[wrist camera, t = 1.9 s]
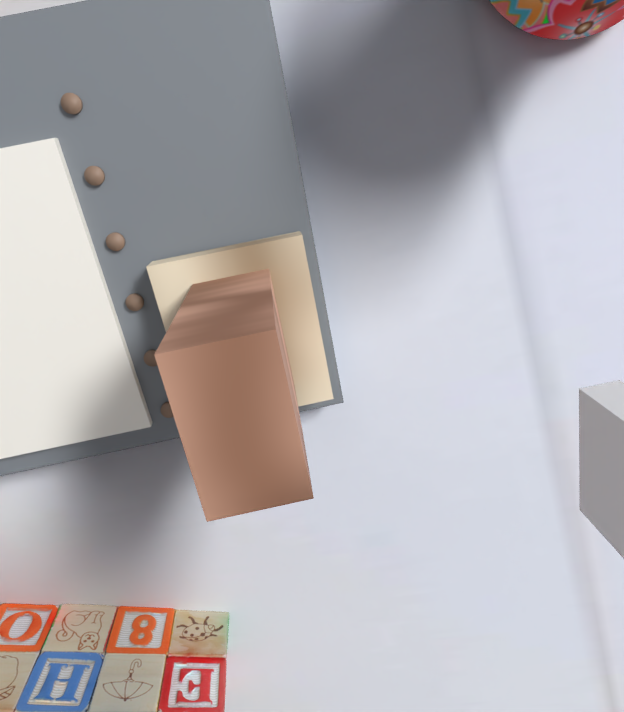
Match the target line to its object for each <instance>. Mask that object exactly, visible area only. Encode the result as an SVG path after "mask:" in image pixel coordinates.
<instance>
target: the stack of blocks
mask: <svg viewBox="0 0 624 712" xmlns="http://www.w3.org/2000/svg"><path fill="white" fill-rule="evenodd" d="M228 626H229V613H228V612H214V611H192V610H175V609H172V608H151V607H127V606H120V607H117V606H107V605H85V604H62V605H33V604H1V605H0V712H224V709H225V687H226V655H227V643H228Z"/></svg>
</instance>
